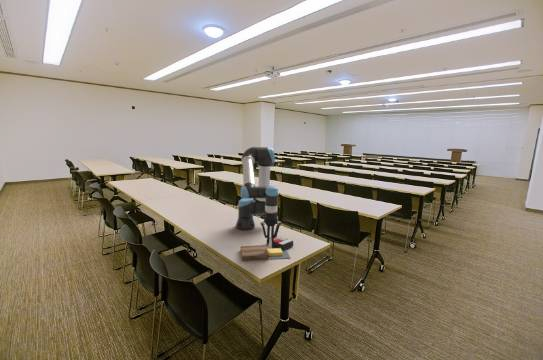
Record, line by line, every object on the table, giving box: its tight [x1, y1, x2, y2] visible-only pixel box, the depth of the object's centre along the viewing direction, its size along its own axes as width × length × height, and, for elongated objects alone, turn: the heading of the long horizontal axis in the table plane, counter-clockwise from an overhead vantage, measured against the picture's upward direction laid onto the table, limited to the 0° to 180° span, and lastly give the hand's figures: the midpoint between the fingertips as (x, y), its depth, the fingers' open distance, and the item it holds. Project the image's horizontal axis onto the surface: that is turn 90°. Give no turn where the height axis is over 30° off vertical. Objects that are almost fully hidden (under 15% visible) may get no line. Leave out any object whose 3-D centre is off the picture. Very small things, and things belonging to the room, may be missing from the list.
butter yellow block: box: [267, 247, 283, 256], centre depth 161 cm, size 6×9×2 cm, turn 100°
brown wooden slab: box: [240, 244, 270, 262], centre depth 158 cm, size 14×16×3 cm
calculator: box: [266, 234, 294, 250], centre depth 174 cm, size 11×4×15 cm
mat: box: [269, 247, 291, 261], centre depth 161 cm, size 14×13×1 cm
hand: (269, 247), depth 160 cm, fingers closed
